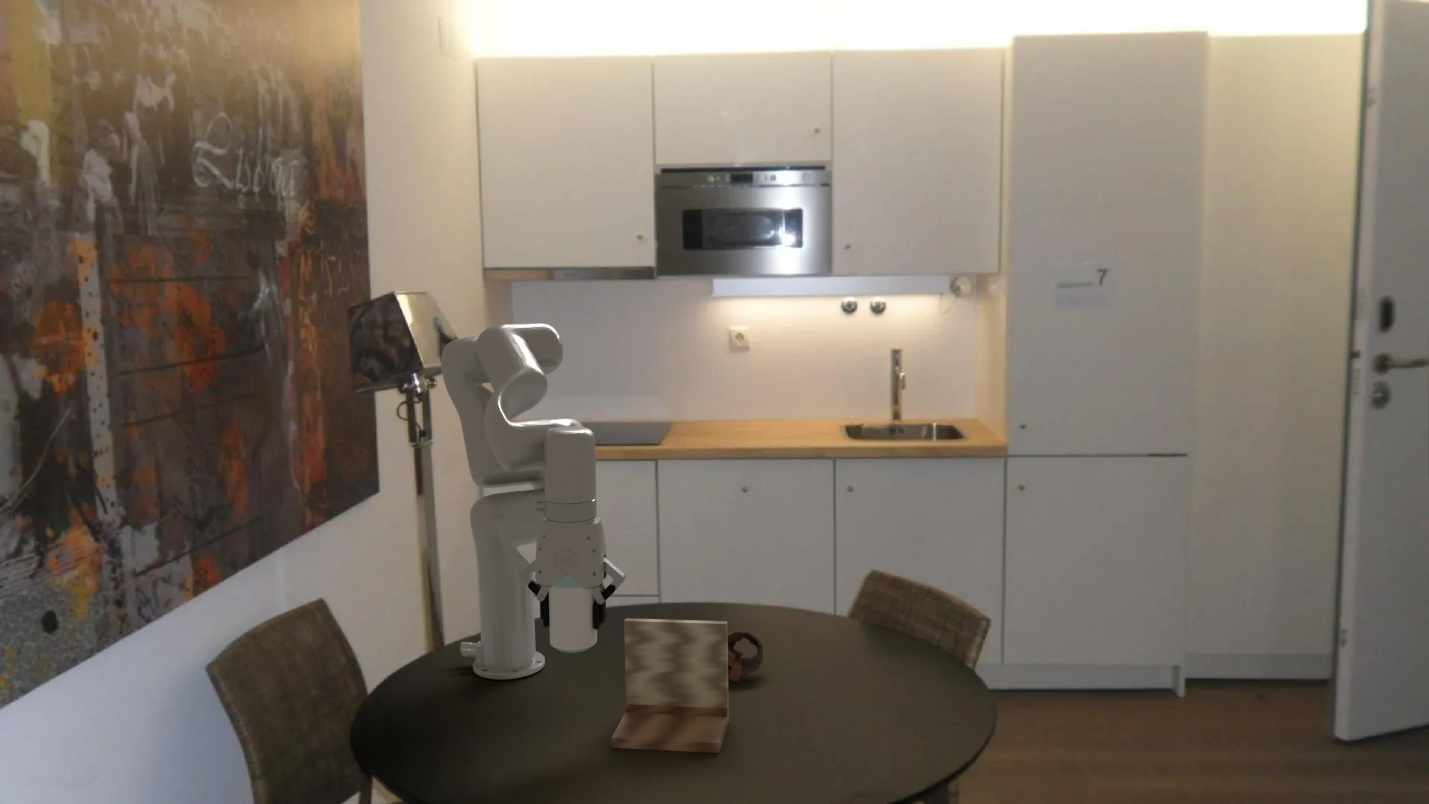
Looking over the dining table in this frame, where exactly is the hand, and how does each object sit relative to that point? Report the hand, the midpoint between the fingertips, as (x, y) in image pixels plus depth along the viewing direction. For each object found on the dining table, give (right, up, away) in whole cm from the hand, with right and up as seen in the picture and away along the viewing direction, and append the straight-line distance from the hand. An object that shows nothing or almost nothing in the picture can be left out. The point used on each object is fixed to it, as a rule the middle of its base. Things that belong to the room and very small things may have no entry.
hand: (573, 624), depth 157 cm
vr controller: (+24, -14, +26) cm, 38 cm away
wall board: (+15, -17, +1) cm, 23 cm away
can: (0, -3, 0) cm, 4 cm away
